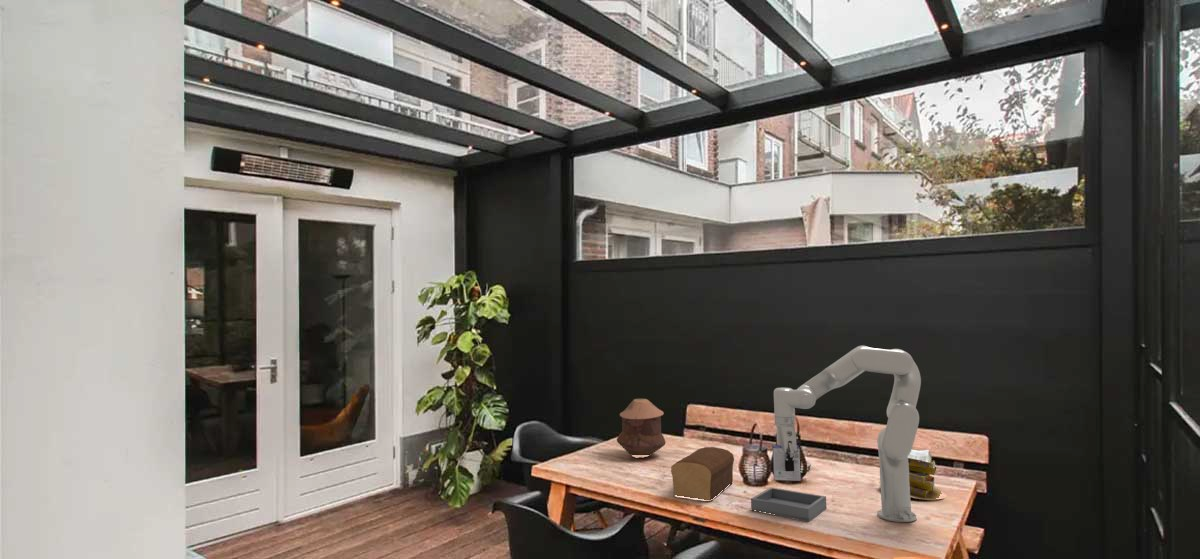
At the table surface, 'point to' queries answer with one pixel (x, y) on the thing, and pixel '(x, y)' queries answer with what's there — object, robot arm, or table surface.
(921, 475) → the stacked food on plate
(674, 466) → the bread
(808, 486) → the table surface
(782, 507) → the tray
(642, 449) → the pottery vessel
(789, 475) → the ink cartridge box
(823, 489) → the table surface
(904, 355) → the robot arm
